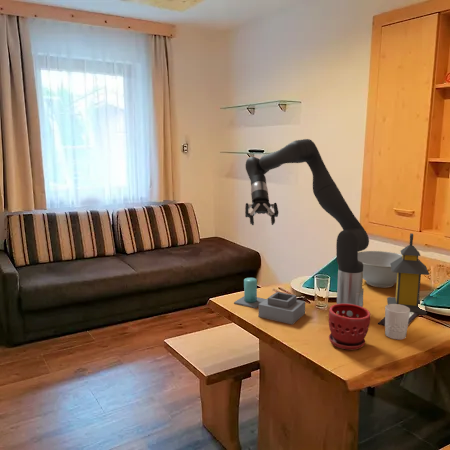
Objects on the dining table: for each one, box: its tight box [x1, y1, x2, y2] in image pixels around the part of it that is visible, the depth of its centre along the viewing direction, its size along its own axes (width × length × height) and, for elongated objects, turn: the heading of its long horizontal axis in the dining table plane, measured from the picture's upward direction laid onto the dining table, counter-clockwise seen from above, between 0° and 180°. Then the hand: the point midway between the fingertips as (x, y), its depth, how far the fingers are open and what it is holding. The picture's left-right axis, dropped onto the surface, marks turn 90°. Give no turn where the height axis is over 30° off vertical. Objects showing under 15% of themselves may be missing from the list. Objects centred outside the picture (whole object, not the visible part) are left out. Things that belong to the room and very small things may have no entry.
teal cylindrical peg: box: [243, 277, 258, 303], centre depth 187 cm, size 5×5×9 cm
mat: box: [233, 295, 267, 309], centre depth 188 cm, size 10×10×1 cm
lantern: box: [386, 233, 430, 316], centre depth 179 cm, size 14×14×30 cm
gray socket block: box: [258, 291, 306, 325], centre depth 173 cm, size 14×12×8 cm
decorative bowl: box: [358, 250, 402, 289], centre depth 209 cm, size 27×27×12 cm
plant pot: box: [328, 303, 371, 351], centre depth 148 cm, size 13×13×12 cm
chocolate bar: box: [377, 312, 419, 327], centre depth 169 cm, size 9×1×18 cm
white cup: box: [384, 303, 410, 340], centre depth 155 cm, size 8×8×10 cm
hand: (262, 224), depth 193 cm, fingers open, 8 cm apart
